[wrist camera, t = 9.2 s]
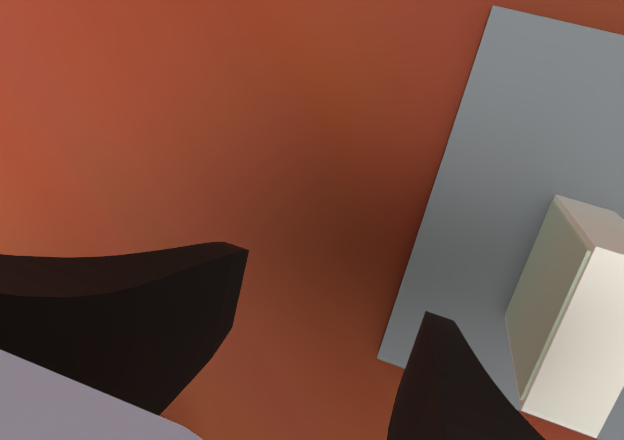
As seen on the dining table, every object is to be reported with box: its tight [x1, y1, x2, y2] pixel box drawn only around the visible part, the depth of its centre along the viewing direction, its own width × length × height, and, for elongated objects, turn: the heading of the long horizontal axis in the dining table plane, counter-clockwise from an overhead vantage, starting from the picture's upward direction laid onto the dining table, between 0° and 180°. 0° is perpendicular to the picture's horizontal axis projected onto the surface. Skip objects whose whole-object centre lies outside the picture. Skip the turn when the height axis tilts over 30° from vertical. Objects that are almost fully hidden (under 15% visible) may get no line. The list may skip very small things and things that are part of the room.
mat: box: [377, 5, 624, 440], centre depth 19 cm, size 14×14×1 cm
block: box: [505, 195, 624, 438], centre depth 16 cm, size 5×2×6 cm, turn 165°
